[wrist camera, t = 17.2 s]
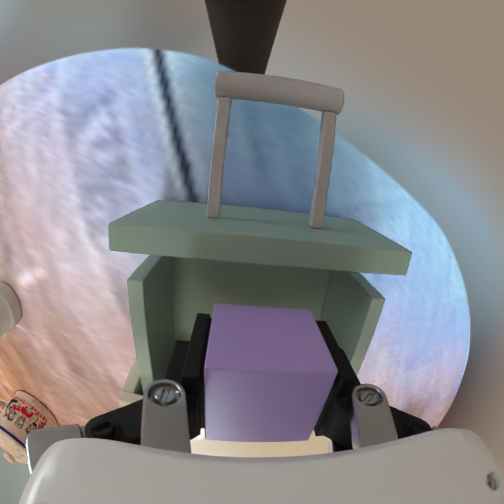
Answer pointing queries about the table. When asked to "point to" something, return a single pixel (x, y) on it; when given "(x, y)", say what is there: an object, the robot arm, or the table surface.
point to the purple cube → (265, 374)
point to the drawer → (253, 246)
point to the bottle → (8, 309)
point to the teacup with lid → (21, 424)
